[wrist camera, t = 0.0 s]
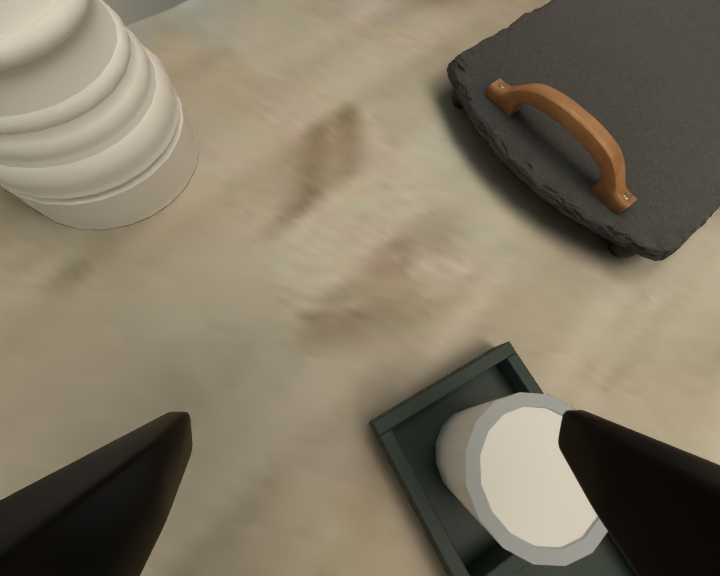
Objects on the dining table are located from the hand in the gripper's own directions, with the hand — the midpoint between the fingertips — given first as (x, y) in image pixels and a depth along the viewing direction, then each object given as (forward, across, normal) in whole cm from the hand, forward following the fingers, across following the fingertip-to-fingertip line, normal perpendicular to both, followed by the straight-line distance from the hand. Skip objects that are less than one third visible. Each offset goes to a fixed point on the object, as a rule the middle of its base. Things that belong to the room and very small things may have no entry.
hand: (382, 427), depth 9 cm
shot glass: (+11, -8, +10) cm, 17 cm away
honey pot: (+23, +18, -8) cm, 30 cm away
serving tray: (+28, -27, -16) cm, 43 cm away
